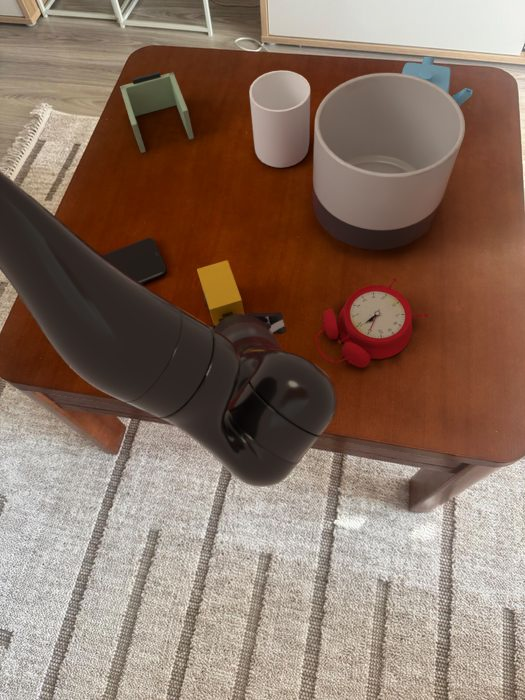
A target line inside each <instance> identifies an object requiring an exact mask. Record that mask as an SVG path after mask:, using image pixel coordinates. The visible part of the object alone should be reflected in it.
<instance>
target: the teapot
mask: <svg viewBox="0 0 525 700" xmlns="http://www.w3.org/2000/svg"><path fill="white" fill-rule="evenodd" d="M434 62H435V58H434V57H431V56H424V57H422V61H421V62H420V63H419V62H406V63H405V64H404V66H403V67H402V70H401V71H402V72H401V73H400V74H407V75H412V76H415V77H419V78H422V79H425V80H427V81H429V82H432V83H434V84H435V85H437V86H439V87H440V88H442V89H443V90H445V91H446V92H447V93H448V94H449V93H450V83H451V68H450V67H449V66H444V65H436V64H434ZM473 91H474V90H473V89H471V88H467V87H464V88H463V89H462V90H460V91H458V92H457V93H455V94H452V95H450V94H449V95H450V96H451V97H452V98H453V99H454V100H455V101H456V103H457V104H458V105H459V107H460V106H462V105H463V104H464V103H465V102H466V101H467V100H468V99H469V98H471V97H472V95H473Z"/></svg>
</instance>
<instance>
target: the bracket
mask: <svg viewBox="0 0 525 700" xmlns="http://www.w3.org/2000/svg"><path fill="white" fill-rule="evenodd" d="M119 88H120V92H121V95H122V98H123V101H124V105H125V109H126V111H127V112H126V113H127V114H128V115H127V116H128V118H129V121H130V125H131V128H132V130H133V135H134V137H135V139H136V142H137V146H138V148H139V151H140V153H141V154H143V153H146V152H147V150H146V146H145V144H144V140H143V138H142V134H141V132H140V128H139V125H138V121H137V118H136V117H138V116H142V115H145V114H150V113H153V112H157V111H160V110H165V109H168V108H172V107H175V106H176V108H177V110H178V113H179V116H180V119H181V122H182V124H183V127H184V129H185V132H186V135H187V137H188V140H194V139H195V137H194V132H193V128H192V123H191V118H190V115H189V109H188V107H187V104H186V102H185V99H184V97H183V94H182V91H181V89H180V86H179V84H178V81H177V78H176V76H175V73H174V71H171V72H168V73H164V74H161V73H160V71H156V72H152V73H148V74H143V75H140V76H136V77H132V78H131V83H127V84H122V85H120V86H119Z"/></svg>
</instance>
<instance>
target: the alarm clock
mask: <svg viewBox="0 0 525 700" xmlns="http://www.w3.org/2000/svg"><path fill="white" fill-rule="evenodd" d="M396 281H397V278H396V277H394V278H392V281H391V283H390V284H389V286H386V285H382V284H370V285H366V286H363V287H360V288H359V289H357V290H355V291H354V292H353V293H352V294H351V295H350V296H349V297H348V298H347V300H346V301H345V303H344V305H343V307H342V308H341V310H340V312H339V315H338V318H337V320H336V316H335V313H334V310H333V309H332V308H329V309H327V310H325V311H324V313H323V314H322V324H320V326H319V327H320V328H322V329H321V330H320V331H319V332H318V333H317V335H316V337H315V340H314V343H315V346H316V349H317V350H318V352H319V354H320V355H321V356H322V357H323V358H324V359H325V360H326V361H328V362H330V363H332V364H338V363H341V362H344V361H347V362H348V364H349V365H353V366H355V367H357V368H365V367H367V366H368V365H369V364H370V363H371V360H383V359H384V360H385V359H388V358H391V357H394V356H395V355H398V354H399V353H400V352H402V351H403V350H404V349H406V347H407V345H408V344H409V342H410V340H411V338H412V336H413V335H412V334H413V318H419V317H425V318H428V317H429V314H428V313H425V314H413V312H412V308H411V306H410V303H409V301H408V300H407V298H406V297H405V296H404V295H403V294H402V293H401V292H400V291H398V290H397V289H395V288H392V287H393V285H394V283H395V282H396ZM324 332H325V334H326V336H327V337H328V339H330V340H337V339H338V338H340V339H339V340H338V341H337V342H338V343H339V345H341V344H342V343H343V346H342V347H341V354H342V356H343V357H344V358H342V359H339V360H333V359H331V358H328V357H327V356H326V355H325V354H324V353H323V352H322V350H321V349H320V347H319V344H318V338H319V336H320V335H322V333H324Z"/></svg>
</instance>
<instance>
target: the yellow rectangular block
mask: <svg viewBox="0 0 525 700" xmlns="http://www.w3.org/2000/svg"><path fill="white" fill-rule="evenodd" d="M196 271H197V275H198V278H199V282H200V284H201V285H200V286H201V289H202V292H201V293H202V296H203V300H204V302H205V306H206V308H207V312H208V314H210V317H211V320H212V325H215V326H216V325H217V324H218V323H219V321H218V320H219V319H221V318H223V317H222V315H223V314H227V313H230V312H232V313H233V315H234V314H245V310H244V306H243V305H244V304H243V299H242V297H241V294H240V291H239V288H238V285H237V282H236V279H235V277H234V273H233V271H232V268H231V266H230V262H229V260H228V259H226V260H223V261H219V262H216V263H213V264H209V265H206V266H202V267H199V268H197V269H196Z"/></svg>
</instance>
